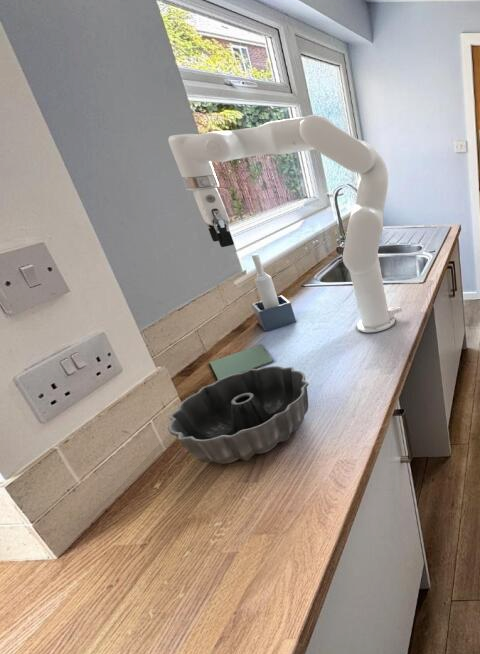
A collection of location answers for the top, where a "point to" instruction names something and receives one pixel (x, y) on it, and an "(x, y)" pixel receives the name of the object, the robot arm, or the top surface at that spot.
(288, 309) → the box
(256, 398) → the bundt pan
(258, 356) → the mat
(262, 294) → the bottle
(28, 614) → the top surface
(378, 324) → the robot arm
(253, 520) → the top surface
